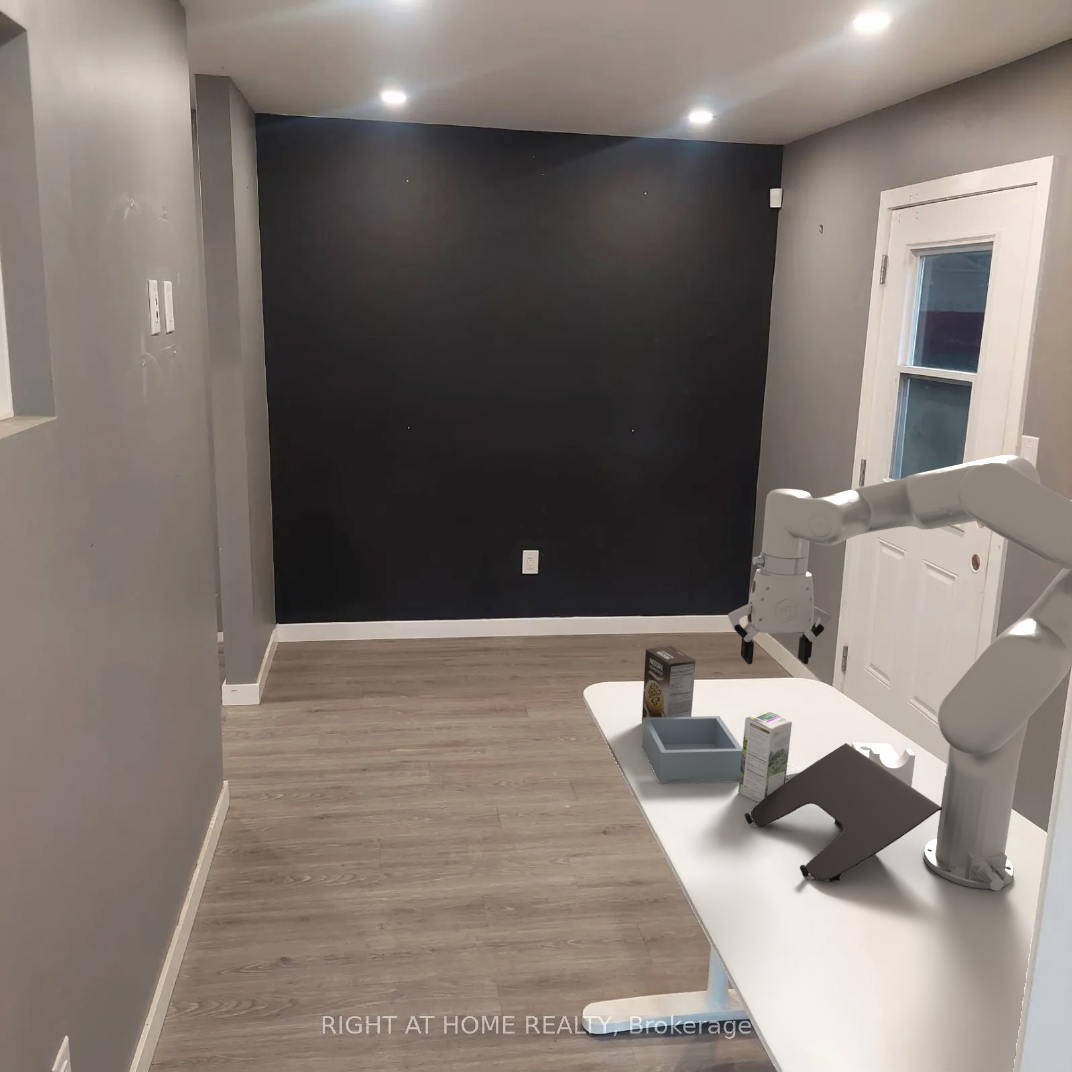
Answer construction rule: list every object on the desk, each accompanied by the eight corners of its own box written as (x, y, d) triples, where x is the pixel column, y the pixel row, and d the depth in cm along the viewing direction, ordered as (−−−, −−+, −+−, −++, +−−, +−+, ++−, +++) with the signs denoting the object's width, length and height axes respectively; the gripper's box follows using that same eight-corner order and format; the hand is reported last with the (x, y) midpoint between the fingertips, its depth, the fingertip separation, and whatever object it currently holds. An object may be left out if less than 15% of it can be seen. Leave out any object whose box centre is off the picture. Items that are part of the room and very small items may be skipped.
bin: (741, 781, 170) (743, 750, 168) (659, 783, 168) (661, 752, 167) (717, 744, 184) (719, 716, 183) (641, 746, 183) (643, 717, 181)
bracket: (910, 794, 167) (915, 755, 166) (869, 792, 168) (874, 753, 166) (887, 761, 180) (892, 724, 178) (850, 759, 180) (853, 722, 179)
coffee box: (640, 723, 193) (644, 648, 190) (666, 718, 196) (671, 644, 192) (664, 741, 185) (668, 663, 182) (691, 735, 188) (696, 659, 184)
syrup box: (758, 783, 169) (764, 708, 166) (785, 797, 165) (792, 719, 161) (737, 793, 166) (743, 716, 162) (764, 806, 161) (771, 728, 158)
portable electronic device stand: (750, 845, 161) (732, 804, 157) (857, 773, 165) (842, 732, 162) (833, 926, 139) (814, 881, 136) (954, 842, 144) (938, 796, 141)
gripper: (739, 569, 152) (731, 669, 156) (843, 570, 154) (833, 669, 158) (726, 558, 159) (719, 653, 163) (825, 558, 161) (816, 653, 165)
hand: (775, 661), depth 160 cm, fingers open, 9 cm apart
